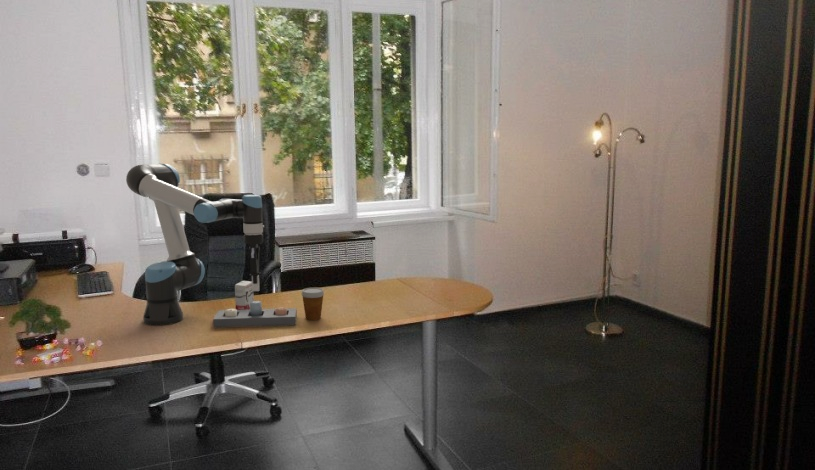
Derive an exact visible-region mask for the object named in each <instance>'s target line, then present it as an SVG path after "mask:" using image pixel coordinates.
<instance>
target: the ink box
mask: <svg viewBox="0 0 815 470" xmlns="http://www.w3.org/2000/svg"><path fill="white" fill-rule="evenodd" d="M254 292H255V291H252V280H251V281H249V280H241V281H240V282H238V283H236V284H235V285H234V298H235V299H234V300H235V301H234V302H235V309H236V310H250V302H252V301H255V299H254V298H255V295H254Z"/></svg>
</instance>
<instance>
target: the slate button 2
mask: <svg viewBox="0 0 815 470" xmlns="http://www.w3.org/2000/svg"><path fill="white" fill-rule="evenodd" d="M262 305H263V304H262V301H261V300H254V301H252V302H250V309H249V310H250V315H252V316H259V315H262V309H263V306H262Z"/></svg>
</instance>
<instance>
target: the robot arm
mask: <svg viewBox="0 0 815 470" xmlns="http://www.w3.org/2000/svg"><path fill="white" fill-rule="evenodd" d="M180 182H181V178H180V174H179V172H178V170H177V169H176V168H175V167H174V166H172V165H171V164H169V163H160V162H159V163H150V164H139V165H135V166H133V167H131V168H130V169H129V171H128V172H127V174H126V184H127V187H128V188H129V190H130V191H131V192H133V193H134V194H137V195H139V196H141V197H143V198H148V199H149V200H151V201H152V202H153V204H154V206H155V211H156V214H157V218H158V220H159V225H160V229H161V233H162V236H163V239H164V242H165V246H166V250H167V254H168V257H167V259H166V261H161V262H155V263H152V264H150V265H148V266H147V267H146V269H145V271H144V272H145V273H144V275H145V276H144V282H145V293H146V305H145V309H144V313H143V317H142V319H143V321H142V323H143V324H144V325H147V326H168V325H172V324H177V323H179V322H181V321H182V320H184V314H183V310H182V307H181V305H180V303H179V301H178V292H179V291H183V290H185V289H188V288H193V287H194V286H196V285H198V284H200V283H201V282H202V281H203V279H204V277H205V274H206V273H205V272H206V269H205V264H204V263H203V261H202V260H200V259H199V258H197V257H196V254H195V252H192V251H191V250H190V246H189V242H188V240H187V239H188V238H187V236H186V233H185V229H184V225H183V220H182V218H181V214H180V211H183V212H185V213H187V214H190V215H192V216H194V218H195V219H196V220H197V221H198V223H201V224H204V223H205V224H206V223H207V224H209V223H210V224H211V223H213V222H218V221H224V220H227V219H242V222H243V223H242V224H243V233H244V234H243V244H245V245H250V246H249V248H248V253H249V254H248V256H249V264H250V274H249V276H250V277H251V282H252V291H253V292H259V291H260V275H261V272H260V250H261V248H260V246H259V245H261V244H263V243H264V228H265V225H264V224H263V202H262V201H263V199H262V196H261V195H259V194H244V195H242V197H241V199H237V198H236V199H233V198H228V197H227V198H221V199H218V200H216V201H211V200H209V199H206V198H204V197H201V196H198V195H196V194H194V193H191V192H190V191H187V190H184V189H182V188H180V187H179V185H180Z"/></svg>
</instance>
